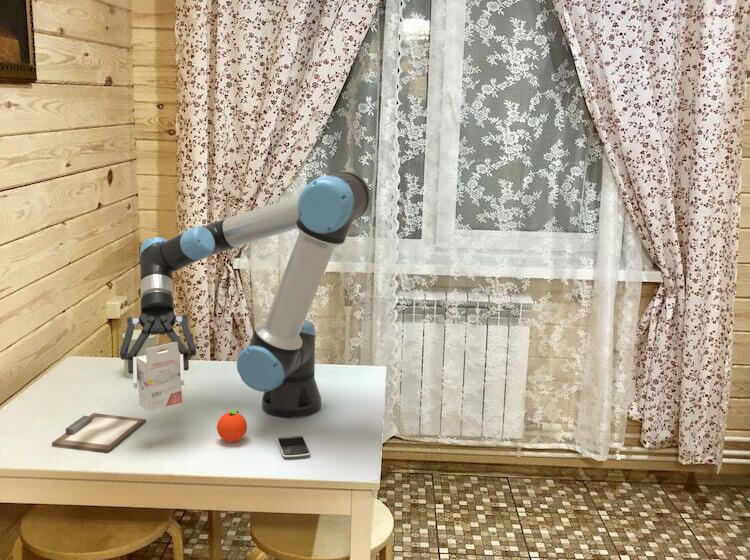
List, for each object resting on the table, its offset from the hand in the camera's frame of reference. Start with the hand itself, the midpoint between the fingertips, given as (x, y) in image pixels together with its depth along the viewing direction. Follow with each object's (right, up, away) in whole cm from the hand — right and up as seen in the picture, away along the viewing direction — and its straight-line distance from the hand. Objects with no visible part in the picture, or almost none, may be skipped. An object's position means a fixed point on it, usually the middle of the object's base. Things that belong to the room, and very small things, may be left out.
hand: (159, 384), depth 194 cm
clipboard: (-16, -13, +10) cm, 23 cm away
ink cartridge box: (-1, -5, +4) cm, 7 cm away
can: (-17, -3, +50) cm, 53 cm away
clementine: (+15, -14, +8) cm, 22 cm away
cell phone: (+30, -16, +4) cm, 34 cm away
